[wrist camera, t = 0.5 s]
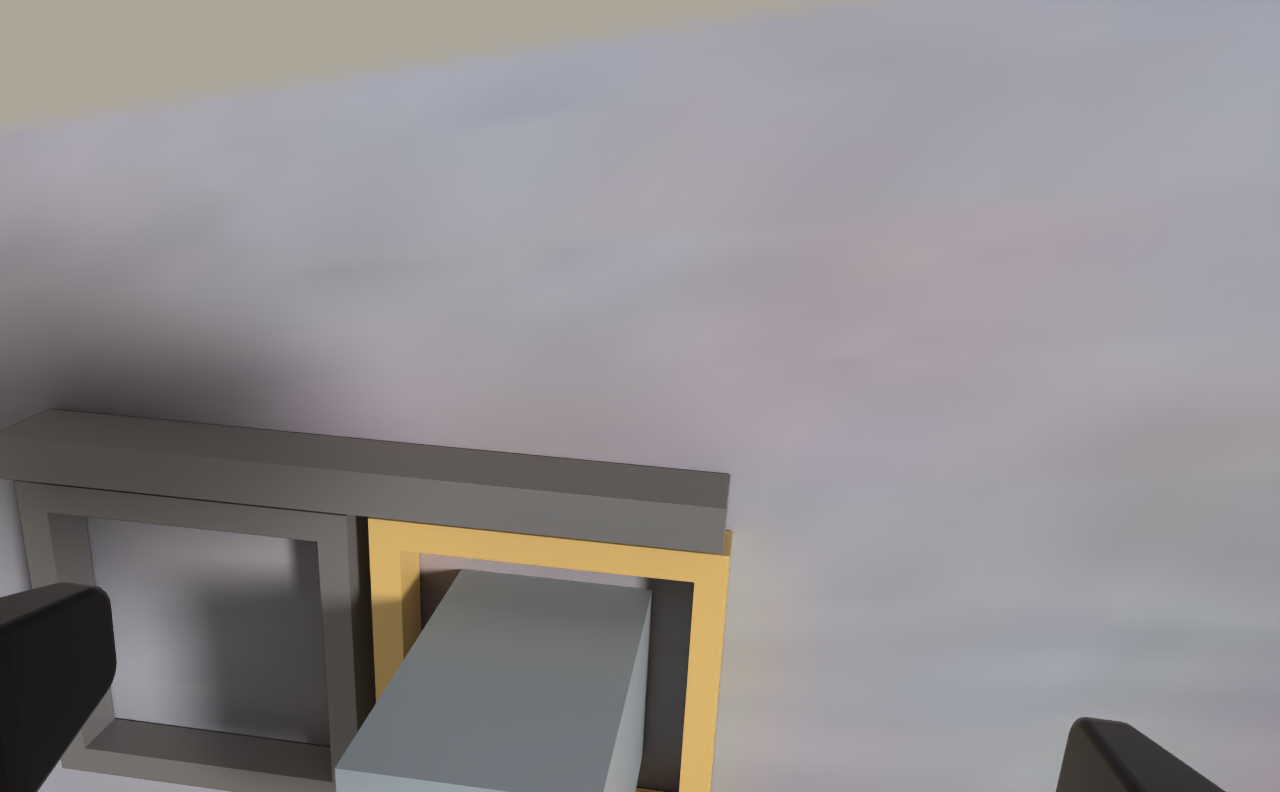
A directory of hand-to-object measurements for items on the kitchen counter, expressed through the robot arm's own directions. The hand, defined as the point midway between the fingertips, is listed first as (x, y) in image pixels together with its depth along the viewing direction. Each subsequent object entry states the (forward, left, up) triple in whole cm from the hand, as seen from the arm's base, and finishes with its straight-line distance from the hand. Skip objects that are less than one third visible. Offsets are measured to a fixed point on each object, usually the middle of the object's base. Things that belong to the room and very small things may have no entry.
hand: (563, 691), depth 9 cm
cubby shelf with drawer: (-8, +7, -12) cm, 16 cm away
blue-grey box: (-8, +3, -12) cm, 15 cm away
